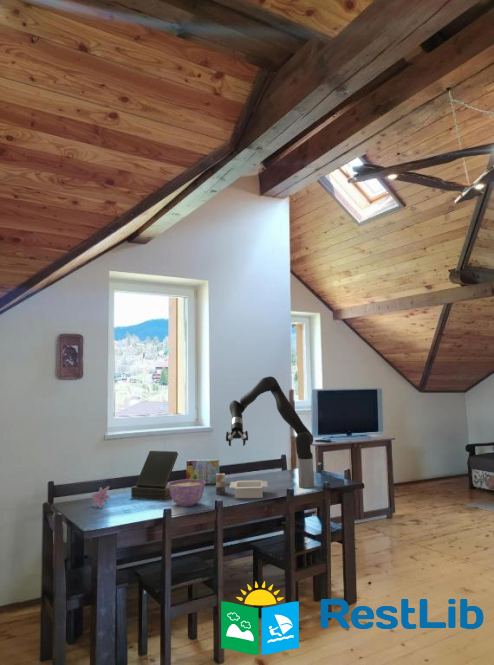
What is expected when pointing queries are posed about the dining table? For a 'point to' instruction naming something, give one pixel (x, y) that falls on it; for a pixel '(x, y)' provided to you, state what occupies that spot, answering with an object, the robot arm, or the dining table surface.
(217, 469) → the snack box
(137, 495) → the tilted panel on base
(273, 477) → the dining table surface
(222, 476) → the block
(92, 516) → the dining table surface
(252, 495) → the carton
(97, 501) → the lily
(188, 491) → the bowl of food
